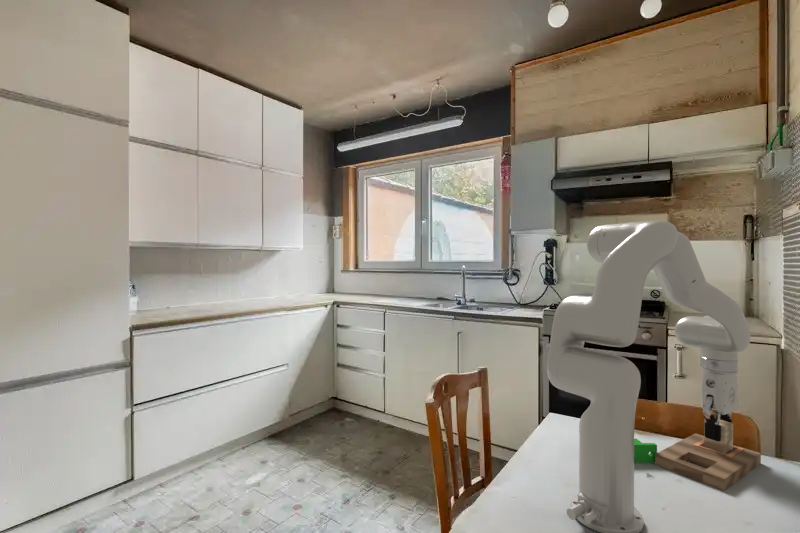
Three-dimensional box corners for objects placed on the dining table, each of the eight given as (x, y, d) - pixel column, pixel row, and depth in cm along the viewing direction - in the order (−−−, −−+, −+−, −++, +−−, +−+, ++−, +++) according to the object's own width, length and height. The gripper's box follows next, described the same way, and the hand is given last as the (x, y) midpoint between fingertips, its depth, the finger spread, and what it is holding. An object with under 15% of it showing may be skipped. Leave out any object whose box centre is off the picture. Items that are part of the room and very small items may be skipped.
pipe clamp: (648, 456, 105) (648, 438, 105) (657, 463, 101) (657, 445, 101) (604, 455, 105) (604, 437, 105) (611, 462, 101) (611, 444, 101)
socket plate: (724, 490, 89) (724, 478, 89) (655, 464, 100) (655, 453, 100) (760, 463, 101) (760, 452, 101) (695, 442, 112) (695, 432, 112)
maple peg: (725, 463, 101) (725, 426, 101) (703, 456, 105) (704, 420, 104) (732, 458, 103) (733, 423, 103) (711, 451, 107) (712, 417, 107)
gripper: (722, 373, 96) (722, 450, 96) (750, 363, 105) (749, 433, 105) (686, 366, 102) (685, 438, 102) (715, 357, 111) (714, 424, 112)
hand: (718, 435), depth 104 cm, fingers open, 6 cm apart
